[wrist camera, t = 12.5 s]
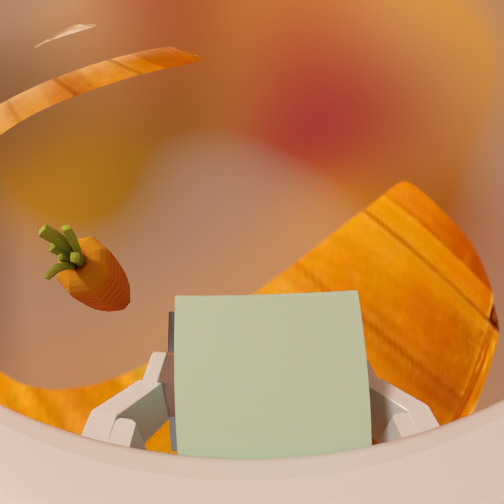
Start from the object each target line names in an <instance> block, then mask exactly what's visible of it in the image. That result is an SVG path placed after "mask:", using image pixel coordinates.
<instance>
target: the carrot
mask: <svg viewBox="0 0 504 504" xmlns="http://www.w3.org/2000/svg"><path fill="white" fill-rule="evenodd" d="M62 231H63V233H64V235H65V236H64V235H62V234H61V233H59V232H58V231H57V230H55V229H54V228H52V227H50V226H48V225H47V224H46V225H44V226H43V227H42V228H40V231H39V236H40V237H42V238H44V239H45V240H47V241H49V242H50V243H52V244H50V246H49V250H50V252H52V253H54V254H56V255H58V264H55V265H54V266H53V267H51V268H50V269H49V270H48V271H47V272H46V273H45V275H44V276H45V277H46V279H48V280H49V279H51V278H52V277H53V276H54V275H56V274H57V279H58V281H59V282H60V283H61V284H62V285H63V287H64V288H65V289H66V290H67V291H68V292H69V293H70V295H71V296H72V297H74V298H75V299H77V300H78V301H80V302H82V303H84V304H85V305H87V306H89V307H91V308H94V309H97V310H101V311H116V310H123V309H124V308H125V307H126V306H127V305H128V304H129V302H130V286H129V282H128V279H127V277H126V274H125V272H124V270H123V269H122V267H121V266H120V264H119V263H118V261H117V260H116V258H115V257H114V256H113V254H112V253H111V252H110V251H109V250H108V249H107V248H106V247H104V246H103V245H102V244H101V243H100V242H99V241H98V240H96V239H95V238H94V237H87V238H82V239H77V238H76V236H75V234H74V232H73V230H72V229H71V227H70V226H69V225H65V226H63V227H62Z"/></svg>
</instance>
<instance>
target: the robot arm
mask: <svg viewBox="0 0 504 504" xmlns="http://www.w3.org/2000/svg"><path fill="white" fill-rule="evenodd" d="M366 359H367V358H366ZM367 369H368V380H369V394H370V410H371V436H372V438H373V439H375V440H376V441H377V443H376V444H374V445H370V446H365V447H360V448H354V449H349V450H343V451H336V452H330V453H322V454H314V455H304V456H292V457H276V458H216V457H200V456H188V455H178V454H170V453H162V452H155V451H149V450H146V447H145V445H144V443H145V442H146V441H147V440H148V439H149V438H150V437H151V436H152V435H153V434H154V433H155V432H156V431H157V430H158V429H159V428H160V427H161V426H162V425H163V424H164V423H165V422H166V421H167V420H168V419H169V417H175V392H174V353H169V352H168V353H167V352H158V351H154V352H153V353H152V355H151V358H150V361H149V363H148V366H147V369H146V372H145V374H144V377H143V380H138V381H136V382H135V383H133V384H132V385H130V386H129V387H127V388H126V389H124V390H123V391H121V392H120V393H118V394H117V395H115V396H114V397H112V398H111V399H109V400H107V401H106V402H104V403H103V404H101V405H100V406H98V407H96V408H95V409H93V410H92V411H91V414H90V416H89V418H88V420H87V423H86V425H85V427H84V430H83V432H82V434H81V435H78V434H75V433H72V432H68V431H65V430H62V429H59V428H56V427H53V426H51V425H48V424H45V423H42V422H40V421H37V420H35V419H32V418H30V417H27V416H25V415H22V414H20V413H18V412H15V411H13V410H11V409H9V408H6V407H4V406H2V405H0V504H504V399H503V400H501V401H499V402H497V403H495V404H493V405H491V406H488V407H486V408H484V409H482V410H479V411H477V412H475V413H473V414H470V415H468V416H465V417H463V418H460V419H458V420H455V421H453V422H450V423H447V424H444V425H442V426H439V424H438V422H437V421H436V419H435V417H434V415H433V414H432V412H431V410H430V409H429V407H428V405H426V404H424V403H423V402H421V401H419V400H417V399H415V398H414V397H412V396H410V395H408V394H407V393H405V392H403V391H402V390H400V389H398V388H396V387H395V386H393V385H391V384H389V383H388V382H386V381H384V380H383V379H378V378H377V376H376V375H375V373H374V371H373V369H372V367H371V365H370V364H369V362H368V360H367Z"/></svg>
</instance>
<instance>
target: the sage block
mask: <svg viewBox="0 0 504 504" xmlns="http://www.w3.org/2000/svg"><path fill="white" fill-rule="evenodd" d="M174 392H175V419H176V438H177V453H178V455H188V456H200V457H216V458H276V457H292V456H304V455H314V454H322V453H330V452H336V451H343V450H349V449H354V448H360V447H365V446H370V445H372V436H371V410H370V394H369V380H368V369H367V359H366V349H365V340H364V332H363V324H362V317H361V310H360V303H359V297H358V291H357V290H352V291H336V292H317V293H295V294H268V295H227V296H175V317H174Z"/></svg>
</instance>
